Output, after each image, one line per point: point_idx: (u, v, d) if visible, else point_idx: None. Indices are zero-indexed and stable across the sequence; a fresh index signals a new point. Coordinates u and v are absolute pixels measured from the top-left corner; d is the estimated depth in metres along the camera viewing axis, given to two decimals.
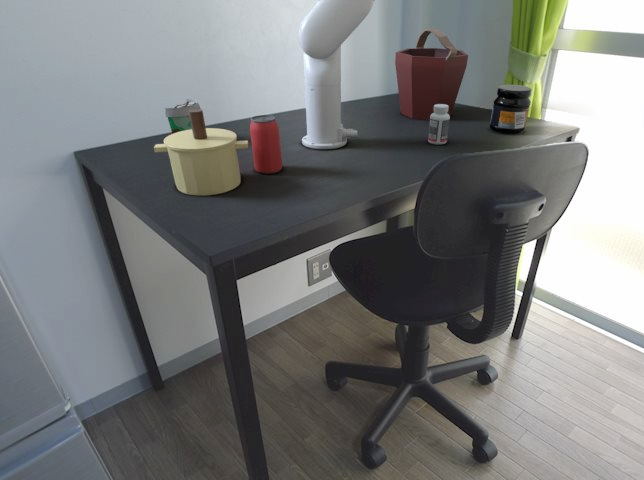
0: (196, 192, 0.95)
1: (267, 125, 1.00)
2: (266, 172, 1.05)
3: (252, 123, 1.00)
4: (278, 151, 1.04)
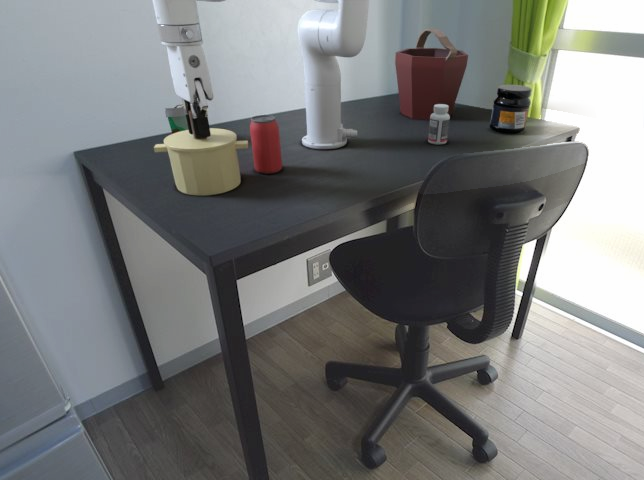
0: (196, 192, 0.95)
1: (267, 125, 1.00)
2: (266, 172, 1.05)
3: (252, 123, 1.00)
4: (278, 151, 1.04)
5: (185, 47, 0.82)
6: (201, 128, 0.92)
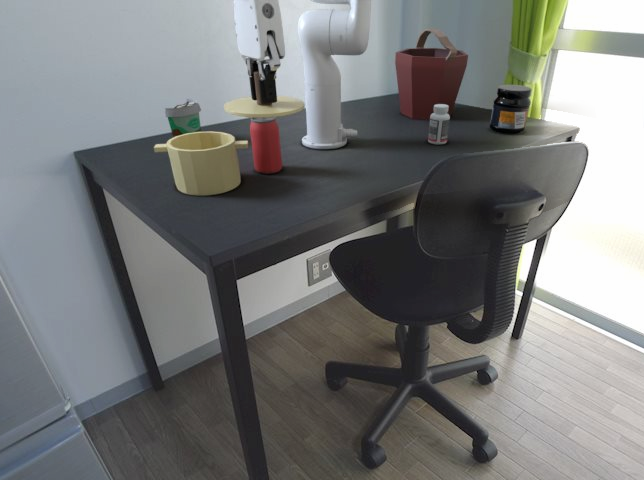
0: (196, 192, 0.95)
1: (267, 125, 1.00)
2: (266, 172, 1.05)
3: (252, 123, 1.00)
4: (278, 151, 1.04)
5: None
6: (268, 91, 0.81)
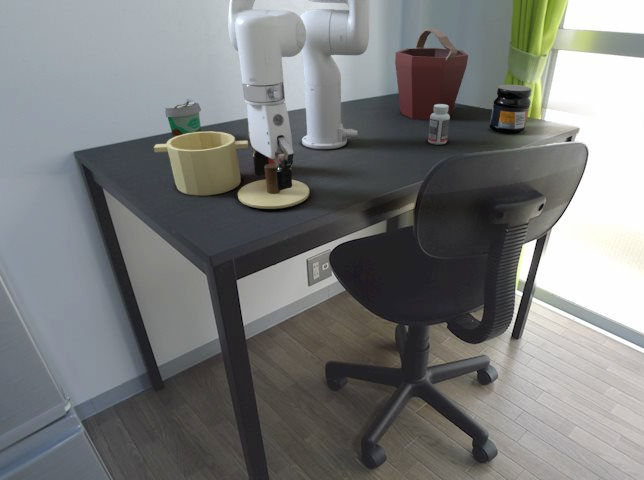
0: (196, 192, 0.95)
1: None
2: None
3: None
4: None
5: (271, 107, 0.81)
6: (284, 180, 0.88)
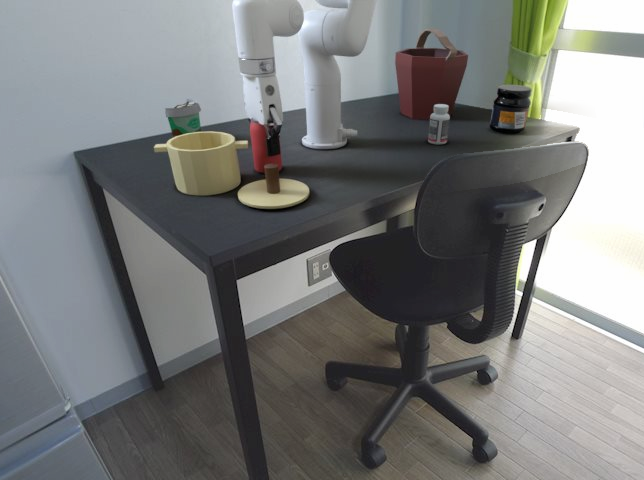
0: (196, 192, 0.95)
1: None
2: None
3: (252, 123, 1.00)
4: None
5: (263, 78, 0.93)
6: (273, 147, 1.01)
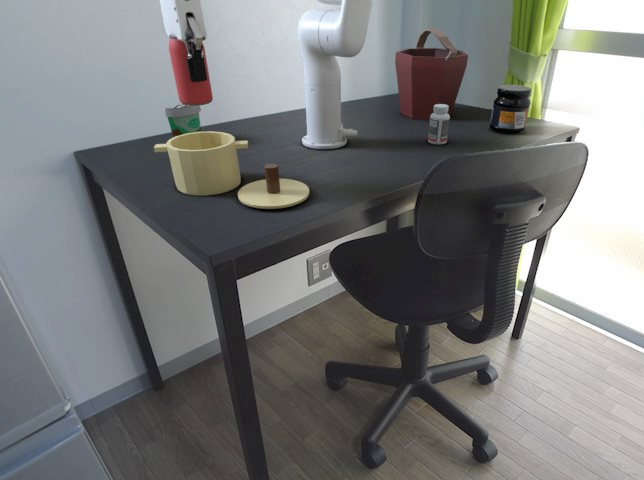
0: (196, 192, 0.95)
1: None
2: (191, 103, 0.89)
3: (170, 40, 0.83)
4: None
5: None
6: (196, 70, 0.84)
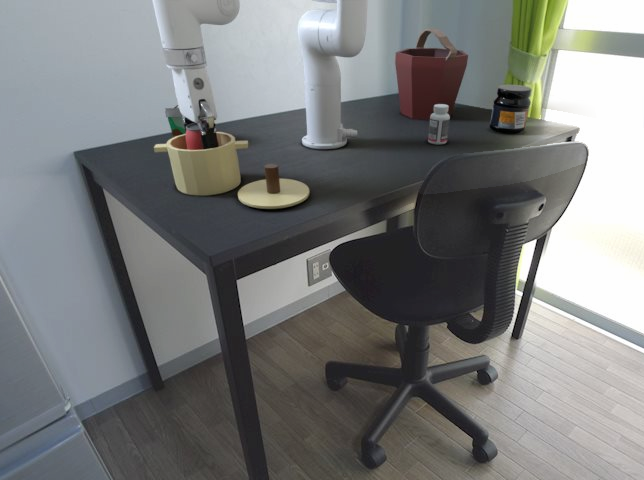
0: (196, 192, 0.95)
1: None
2: None
3: (187, 131, 0.93)
4: None
5: (190, 70, 0.84)
6: (209, 144, 0.91)
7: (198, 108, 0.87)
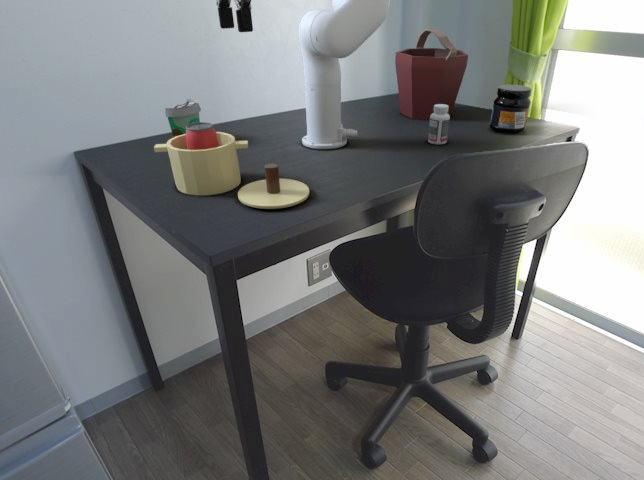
0: (196, 192, 0.95)
1: (203, 134, 0.92)
2: None
3: (187, 131, 0.93)
4: None
5: None
6: (244, 20, 0.94)
7: None
